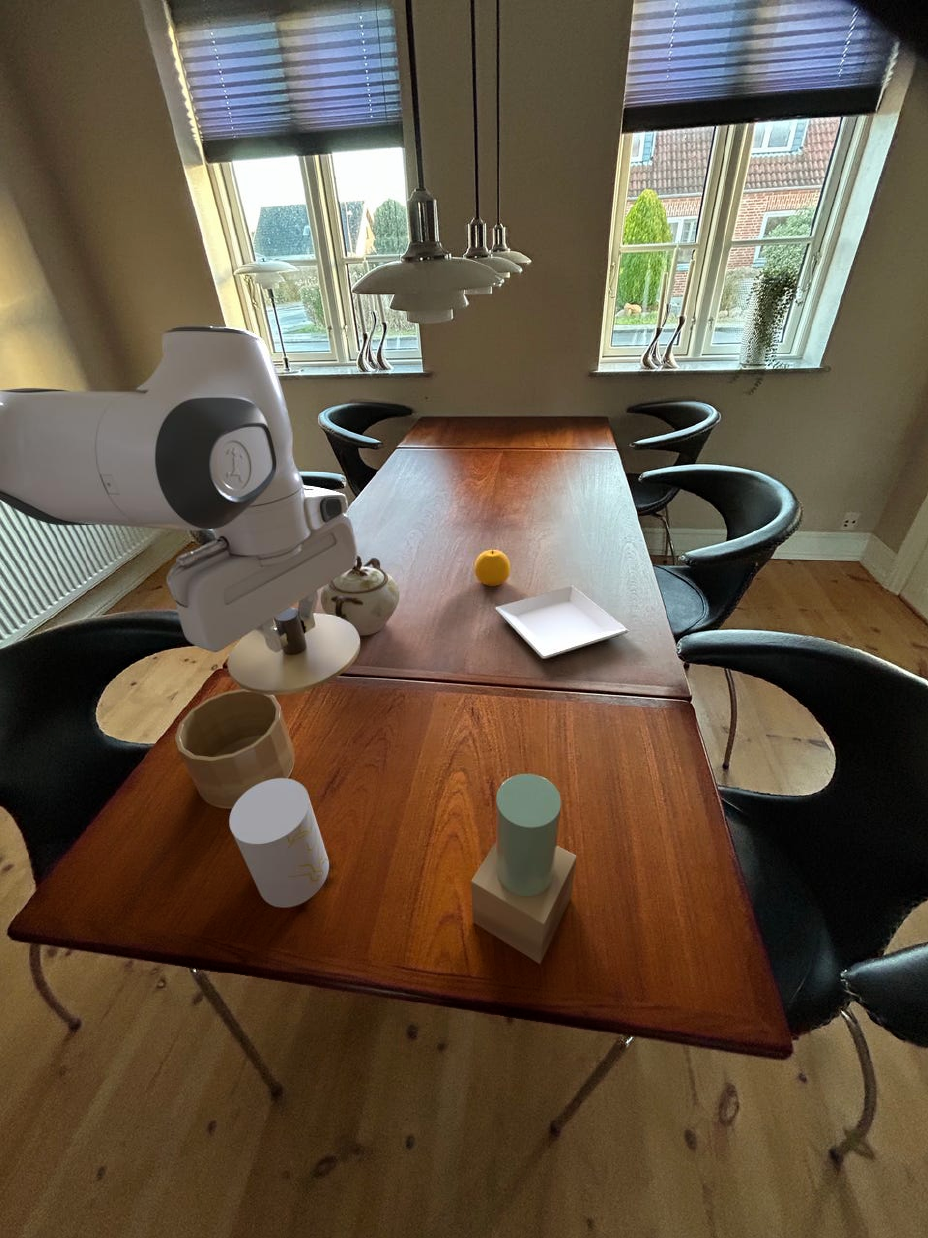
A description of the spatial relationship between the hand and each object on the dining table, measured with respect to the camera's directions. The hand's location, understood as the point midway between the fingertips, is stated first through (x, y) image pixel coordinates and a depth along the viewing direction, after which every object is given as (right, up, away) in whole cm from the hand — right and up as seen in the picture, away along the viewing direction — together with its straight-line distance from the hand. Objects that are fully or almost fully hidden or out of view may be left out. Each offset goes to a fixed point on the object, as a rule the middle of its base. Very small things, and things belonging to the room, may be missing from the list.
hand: (292, 637), depth 58 cm
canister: (+25, -23, -4) cm, 34 cm away
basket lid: (0, -2, +1) cm, 2 cm away
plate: (+37, 0, +45) cm, 59 cm away
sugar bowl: (-1, +1, +49) cm, 49 cm away
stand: (+25, -30, +1) cm, 39 cm away
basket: (-12, -20, +18) cm, 30 cm away
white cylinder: (-1, -28, +5) cm, 29 cm away
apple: (+25, +10, +61) cm, 67 cm away
